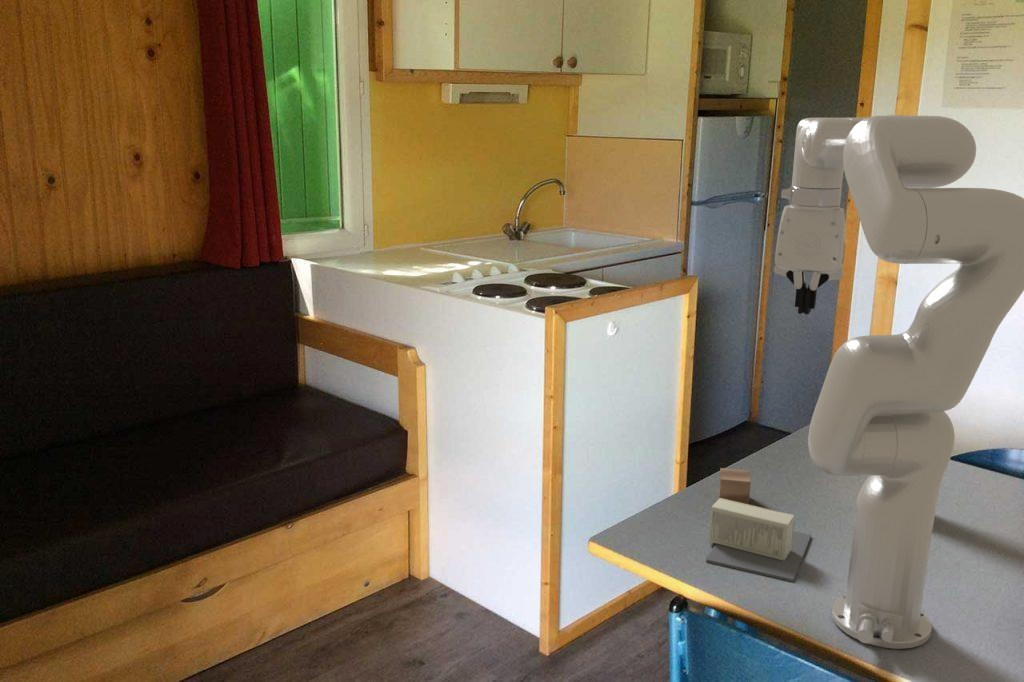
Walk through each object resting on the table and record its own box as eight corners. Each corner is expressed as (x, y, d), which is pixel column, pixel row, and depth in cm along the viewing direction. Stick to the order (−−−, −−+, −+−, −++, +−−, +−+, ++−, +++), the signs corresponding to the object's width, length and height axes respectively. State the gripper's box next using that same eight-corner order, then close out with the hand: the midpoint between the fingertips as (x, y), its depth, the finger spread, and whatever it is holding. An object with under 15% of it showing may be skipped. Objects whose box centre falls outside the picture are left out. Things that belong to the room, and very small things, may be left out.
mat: (793, 581, 136) (793, 579, 136) (706, 561, 141) (706, 559, 141) (810, 536, 150) (811, 534, 150) (730, 520, 155) (731, 518, 155)
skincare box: (716, 531, 150) (791, 551, 145) (707, 542, 147) (784, 562, 141) (719, 495, 149) (796, 514, 143) (710, 505, 145) (789, 525, 139)
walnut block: (748, 508, 160) (750, 481, 159) (718, 505, 161) (720, 479, 160) (747, 496, 165) (749, 470, 164) (718, 494, 166) (720, 468, 164)
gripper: (762, 198, 145) (752, 312, 150) (862, 203, 139) (850, 322, 144) (771, 193, 152) (762, 303, 156) (868, 199, 145) (855, 312, 150)
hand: (804, 312), depth 150 cm, fingers closed
